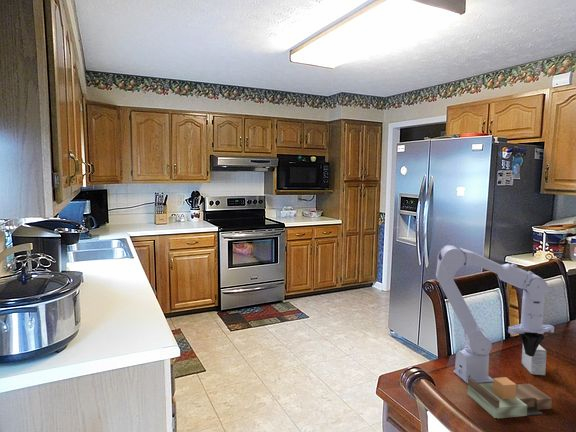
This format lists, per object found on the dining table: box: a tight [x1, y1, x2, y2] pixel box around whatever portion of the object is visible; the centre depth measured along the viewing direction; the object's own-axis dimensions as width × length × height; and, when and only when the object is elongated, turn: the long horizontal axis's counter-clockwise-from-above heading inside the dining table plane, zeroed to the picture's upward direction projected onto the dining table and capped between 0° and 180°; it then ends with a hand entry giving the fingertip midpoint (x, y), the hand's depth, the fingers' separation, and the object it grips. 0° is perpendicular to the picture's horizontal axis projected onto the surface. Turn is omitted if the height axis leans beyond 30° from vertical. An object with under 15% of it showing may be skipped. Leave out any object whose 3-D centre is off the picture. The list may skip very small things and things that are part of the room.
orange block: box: [492, 376, 517, 399], centre depth 106 cm, size 4×4×4 cm
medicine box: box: [521, 344, 547, 376], centre depth 127 cm, size 8×4×9 cm, turn 169°
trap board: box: [467, 378, 553, 419], centre depth 107 cm, size 19×12×5 cm, turn 99°
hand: (529, 355), depth 118 cm, fingers closed
